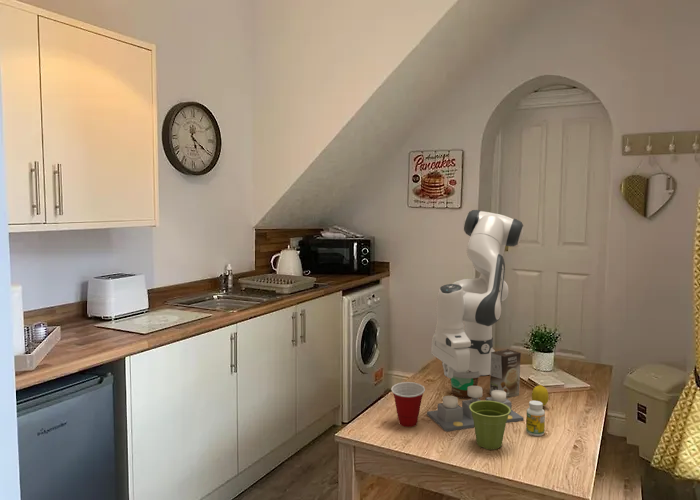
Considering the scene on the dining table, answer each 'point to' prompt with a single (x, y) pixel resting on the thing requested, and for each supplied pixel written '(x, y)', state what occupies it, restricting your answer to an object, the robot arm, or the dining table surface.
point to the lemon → (540, 394)
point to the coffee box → (505, 372)
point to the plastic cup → (408, 402)
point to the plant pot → (489, 422)
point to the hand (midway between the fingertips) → (448, 376)
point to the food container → (463, 383)
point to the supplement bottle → (535, 419)
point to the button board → (463, 416)
